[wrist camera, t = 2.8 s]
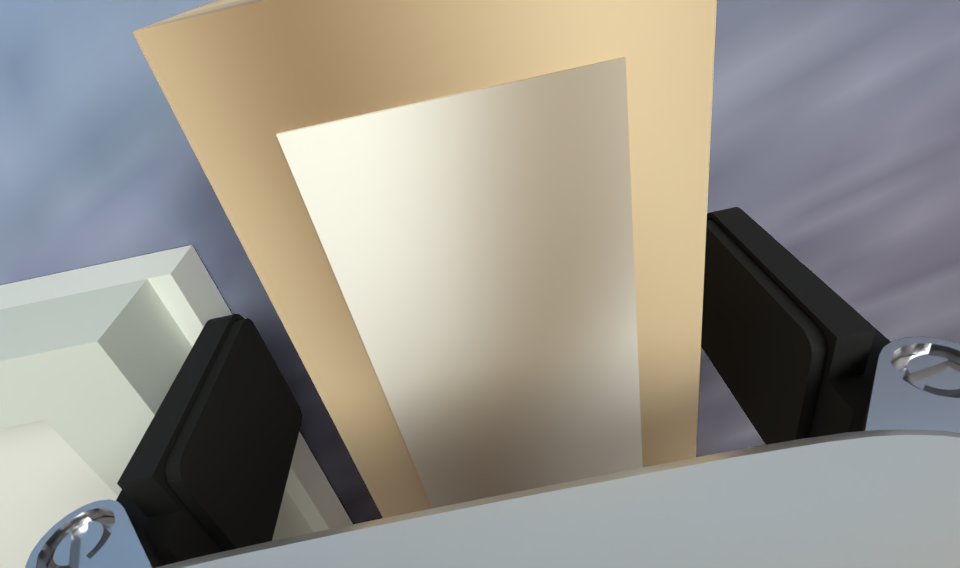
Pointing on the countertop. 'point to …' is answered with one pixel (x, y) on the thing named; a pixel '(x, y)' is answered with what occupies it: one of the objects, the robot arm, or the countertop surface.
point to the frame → (467, 221)
